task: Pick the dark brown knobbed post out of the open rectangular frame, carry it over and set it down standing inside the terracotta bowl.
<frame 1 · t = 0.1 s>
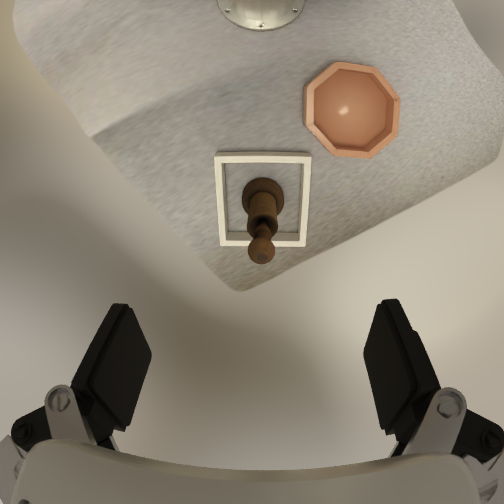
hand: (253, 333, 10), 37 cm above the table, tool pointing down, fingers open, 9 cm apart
terracotta bowl: (348, 108, 38), on the table
dark brown knobbed post: (263, 196, 46), resting in open rectangular frame
open rectangular frame: (263, 196, 46), on the table
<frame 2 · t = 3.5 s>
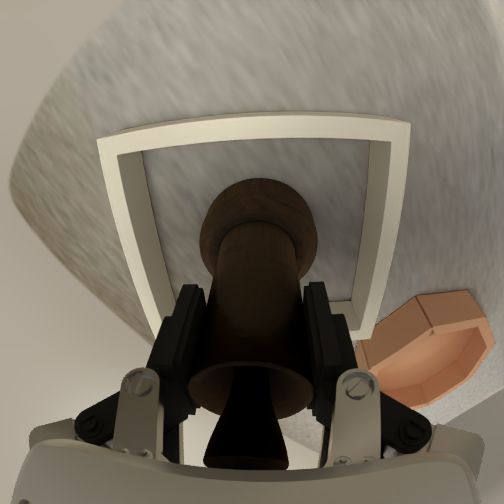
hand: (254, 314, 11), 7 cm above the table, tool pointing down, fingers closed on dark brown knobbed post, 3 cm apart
terracotta bowl: (418, 348, 23), on the table
dark brown knobbed post: (259, 228, 18), resting in open rectangular frame, touching gripper
open rectangular frame: (258, 229, 17), on the table
when the fingers open (10 cm above the table, at t = 10.7 s): dark brown knobbed post drops 2 cm, resting on terracotta bowl.
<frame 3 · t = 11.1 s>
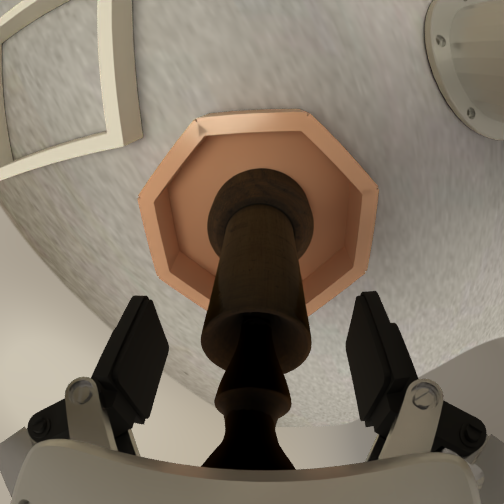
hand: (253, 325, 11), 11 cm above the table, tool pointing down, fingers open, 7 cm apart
terracotta bowl: (259, 211, 20), on the table
dark brown knobbed post: (260, 214, 19), point 1 cm above the table, touching terracotta bowl
open rectangular frame: (50, 73, 14), on the table
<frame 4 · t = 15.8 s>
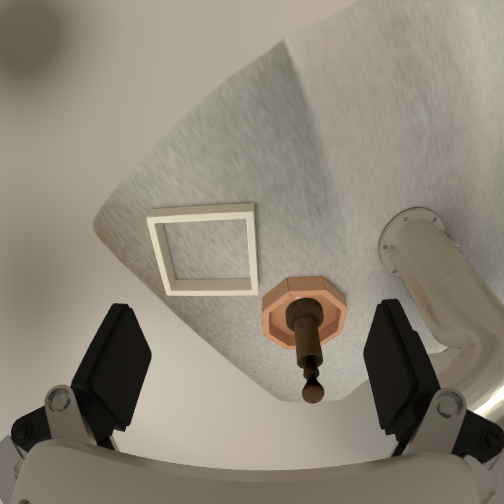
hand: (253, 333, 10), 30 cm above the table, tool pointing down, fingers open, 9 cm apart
terracotta bowl: (302, 308, 50), on the table
dark brown knobbed post: (303, 310, 49), point 1 cm above the table, touching terracotta bowl
open rectangular frame: (207, 247, 44), on the table
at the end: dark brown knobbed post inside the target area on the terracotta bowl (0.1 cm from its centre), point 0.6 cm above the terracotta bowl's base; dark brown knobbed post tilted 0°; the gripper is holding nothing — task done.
